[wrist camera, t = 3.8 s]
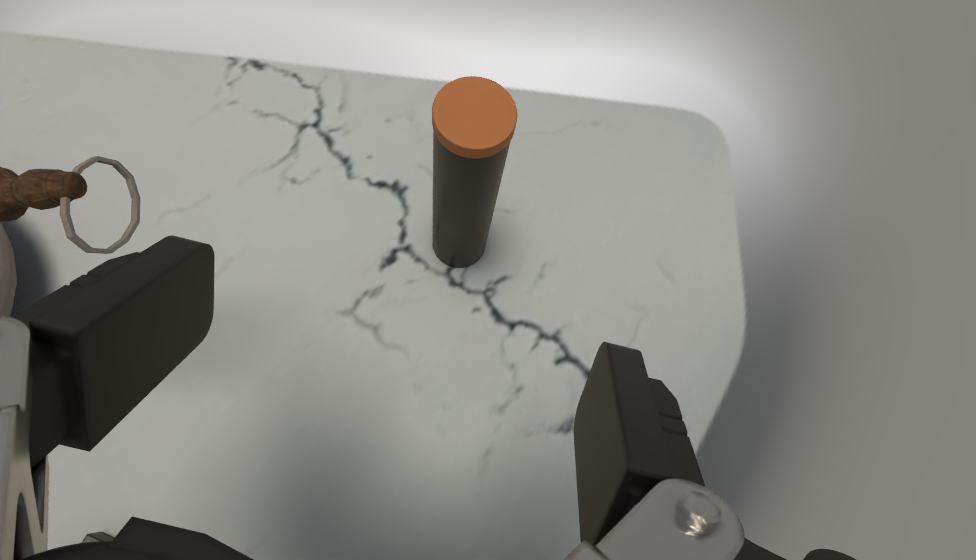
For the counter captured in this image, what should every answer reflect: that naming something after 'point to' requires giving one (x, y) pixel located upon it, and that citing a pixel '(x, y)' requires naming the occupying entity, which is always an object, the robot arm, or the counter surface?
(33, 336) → the robot arm
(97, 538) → the tablet
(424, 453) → the counter surface
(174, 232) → the counter surface
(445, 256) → the stylus
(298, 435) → the counter surface
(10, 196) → the coffee pot
